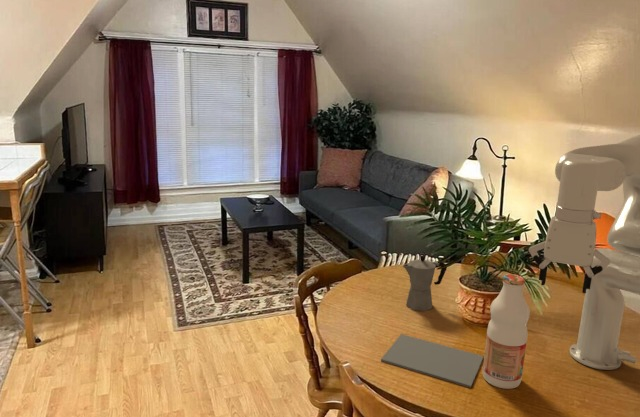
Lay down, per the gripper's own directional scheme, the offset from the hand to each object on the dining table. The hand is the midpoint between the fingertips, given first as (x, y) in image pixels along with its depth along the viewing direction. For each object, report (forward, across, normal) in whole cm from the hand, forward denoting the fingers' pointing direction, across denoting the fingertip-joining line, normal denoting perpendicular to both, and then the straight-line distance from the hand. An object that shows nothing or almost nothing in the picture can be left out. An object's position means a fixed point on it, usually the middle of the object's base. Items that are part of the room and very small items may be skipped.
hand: (563, 286), depth 113 cm
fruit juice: (+28, +11, 0) cm, 30 cm away
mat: (+28, +29, 0) cm, 40 cm away
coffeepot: (+28, +42, -32) cm, 60 cm away
